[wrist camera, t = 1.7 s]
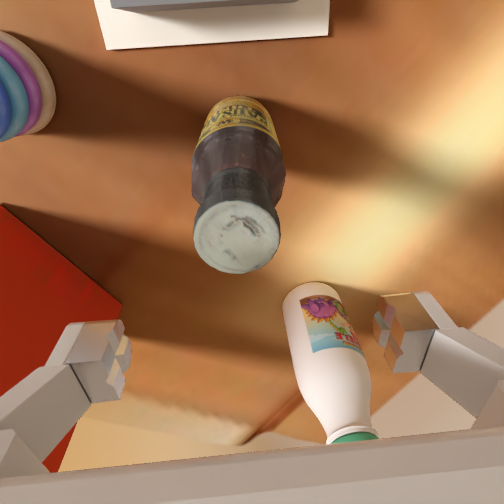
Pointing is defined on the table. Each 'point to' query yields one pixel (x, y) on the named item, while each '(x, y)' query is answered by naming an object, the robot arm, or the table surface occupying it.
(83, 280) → the tall red box
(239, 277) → the table surface
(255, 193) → the sauce bottle
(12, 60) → the stacking toy
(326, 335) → the milk bottle
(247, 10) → the mount collar
